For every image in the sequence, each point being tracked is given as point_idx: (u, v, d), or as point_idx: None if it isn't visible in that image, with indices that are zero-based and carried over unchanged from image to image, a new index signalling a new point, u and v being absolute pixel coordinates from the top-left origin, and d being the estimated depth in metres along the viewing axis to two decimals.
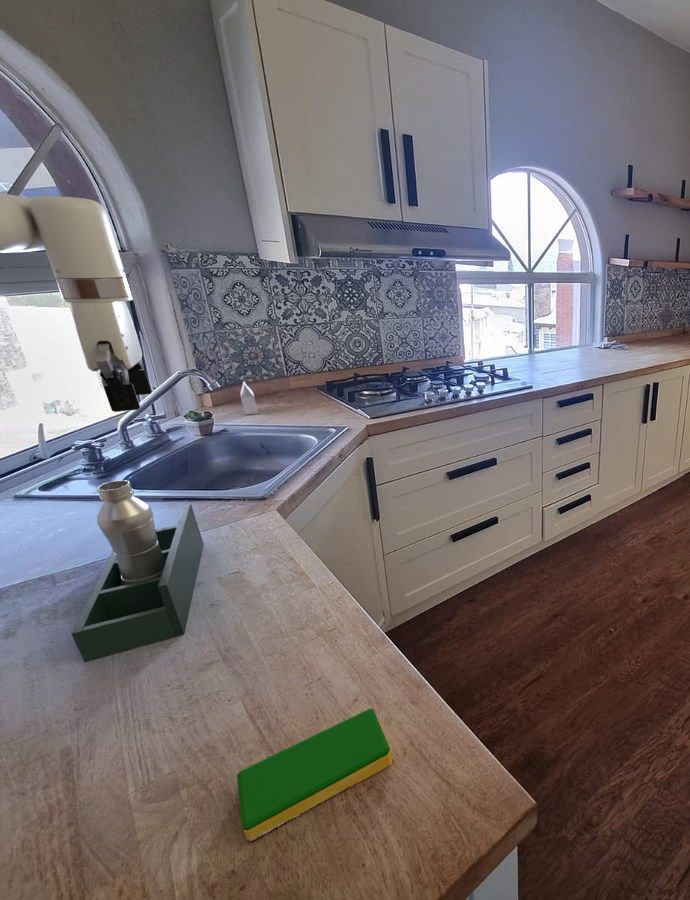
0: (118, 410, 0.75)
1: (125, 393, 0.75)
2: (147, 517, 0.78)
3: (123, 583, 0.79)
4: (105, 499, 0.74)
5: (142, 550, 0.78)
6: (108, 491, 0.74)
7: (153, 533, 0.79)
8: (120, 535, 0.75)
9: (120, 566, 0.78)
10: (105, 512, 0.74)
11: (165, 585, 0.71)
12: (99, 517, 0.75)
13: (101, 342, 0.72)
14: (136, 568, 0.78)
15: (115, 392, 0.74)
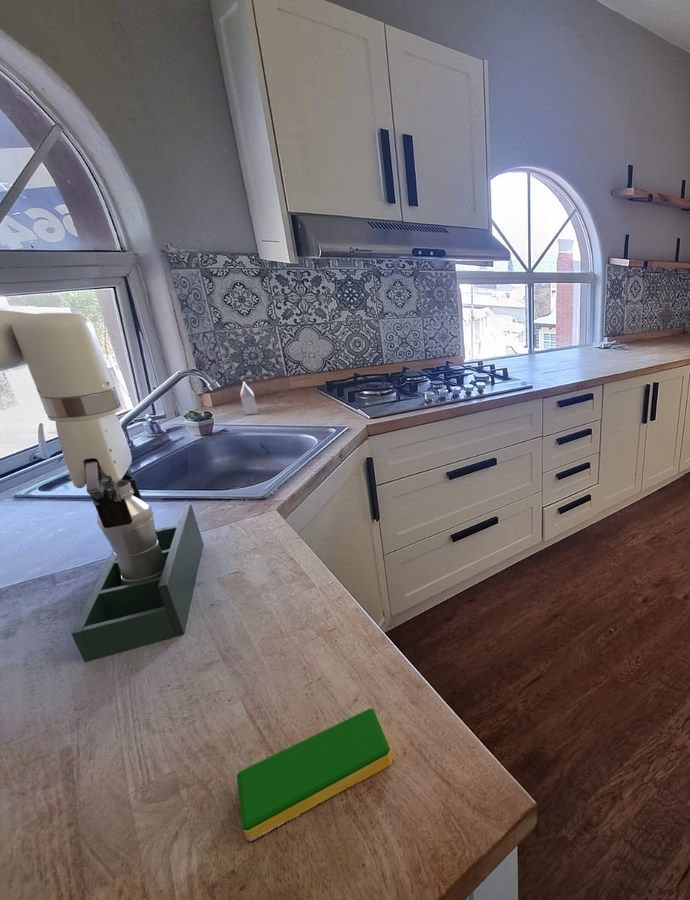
0: (110, 526, 0.74)
1: (117, 510, 0.73)
2: (147, 517, 0.78)
3: (123, 583, 0.79)
4: None
5: (142, 549, 0.78)
6: None
7: (153, 533, 0.79)
8: (120, 535, 0.75)
9: (120, 566, 0.78)
10: None
11: (165, 585, 0.71)
12: (99, 517, 0.75)
13: (89, 462, 0.69)
14: (137, 567, 0.78)
15: (107, 510, 0.72)
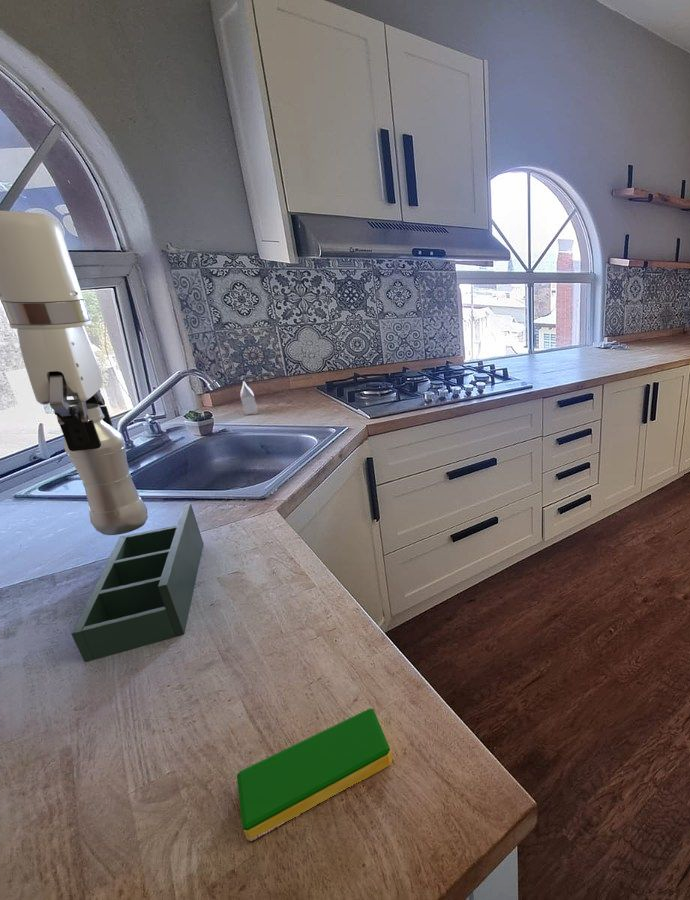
0: (76, 449, 0.69)
1: (84, 431, 0.68)
2: (118, 444, 0.73)
3: (91, 515, 0.74)
4: None
5: (112, 479, 0.73)
6: None
7: (124, 463, 0.75)
8: (88, 461, 0.71)
9: (88, 496, 0.73)
10: None
11: (165, 585, 0.71)
12: (65, 440, 0.70)
13: (53, 375, 0.65)
14: (106, 498, 0.74)
15: (73, 430, 0.68)
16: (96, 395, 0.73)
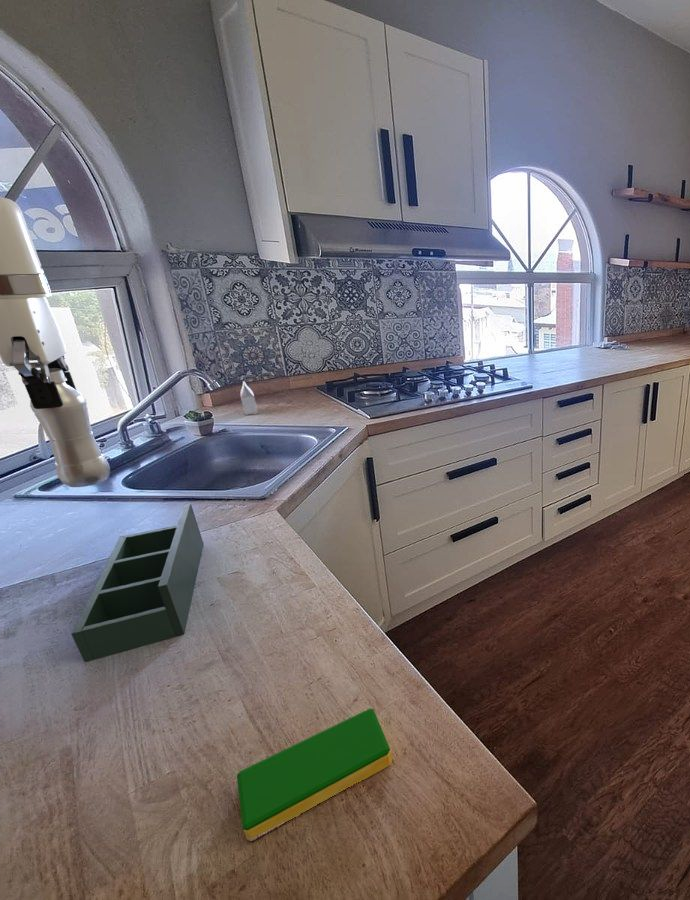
0: (40, 407, 0.78)
1: (46, 391, 0.77)
2: (79, 404, 0.82)
3: (57, 468, 0.83)
4: None
5: (74, 436, 0.82)
6: None
7: (86, 422, 0.84)
8: (52, 418, 0.80)
9: (54, 451, 0.82)
10: None
11: (165, 585, 0.71)
12: None
13: (16, 340, 0.74)
14: (69, 453, 0.82)
15: (36, 390, 0.77)
16: (60, 361, 0.82)
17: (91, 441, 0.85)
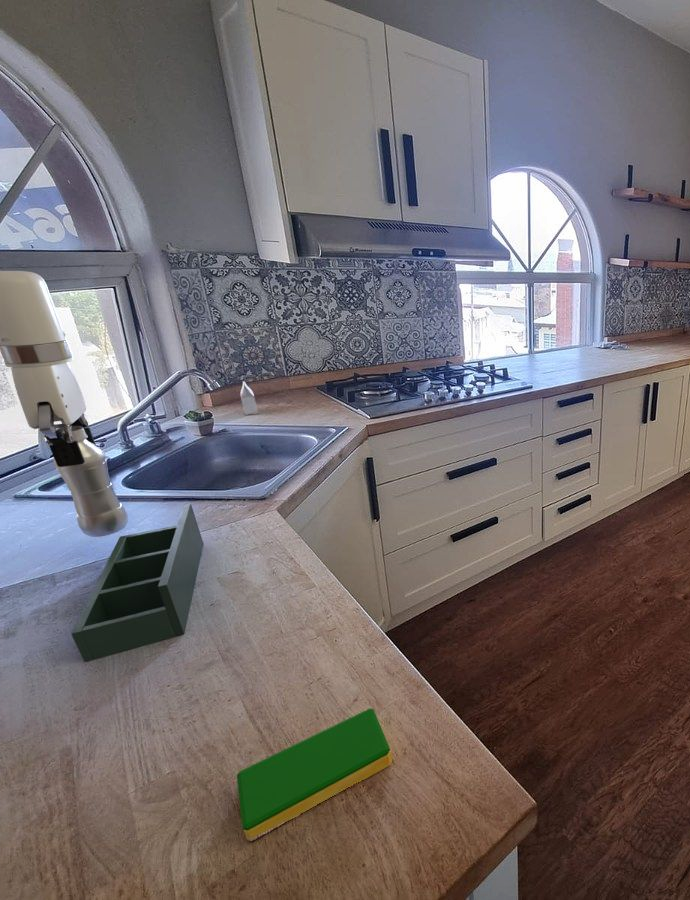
0: (63, 465, 0.82)
1: (69, 450, 0.81)
2: (99, 459, 0.86)
3: (78, 520, 0.87)
4: None
5: (95, 489, 0.87)
6: None
7: (106, 475, 0.88)
8: (74, 474, 0.84)
9: (75, 504, 0.87)
10: None
11: (165, 585, 0.71)
12: None
13: (42, 405, 0.78)
14: (90, 505, 0.87)
15: (60, 449, 0.81)
16: (80, 418, 0.87)
17: (110, 493, 0.89)
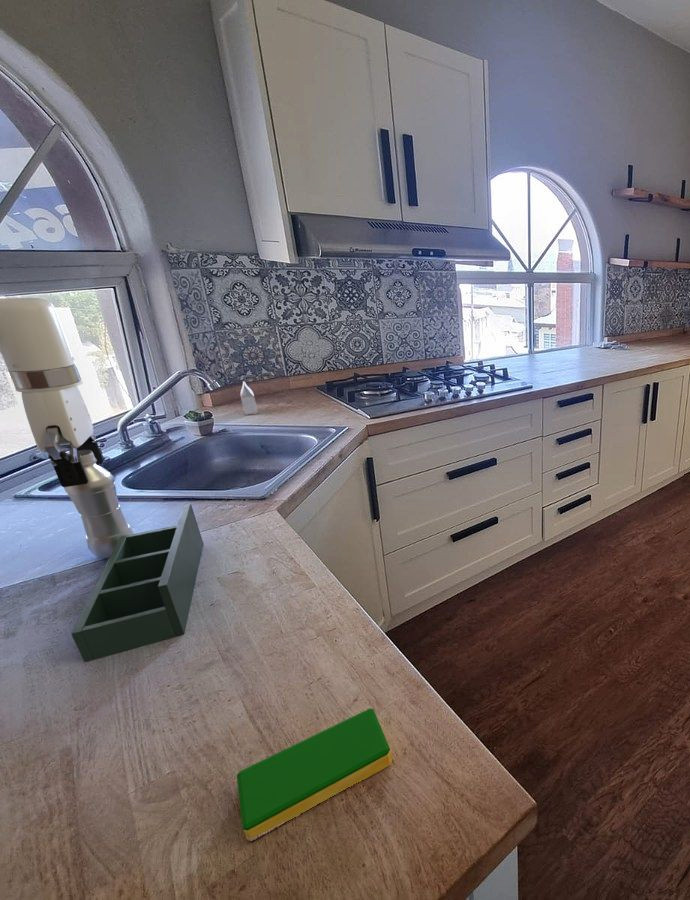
0: (67, 485, 0.82)
1: (74, 471, 0.82)
2: (108, 483, 0.88)
3: (88, 542, 0.89)
4: None
5: (104, 512, 0.88)
6: None
7: (114, 498, 0.90)
8: (84, 498, 0.86)
9: (85, 526, 0.88)
10: None
11: (165, 585, 0.71)
12: None
13: (50, 426, 0.79)
14: (99, 528, 0.88)
15: (64, 470, 0.81)
16: None
17: (119, 515, 0.91)
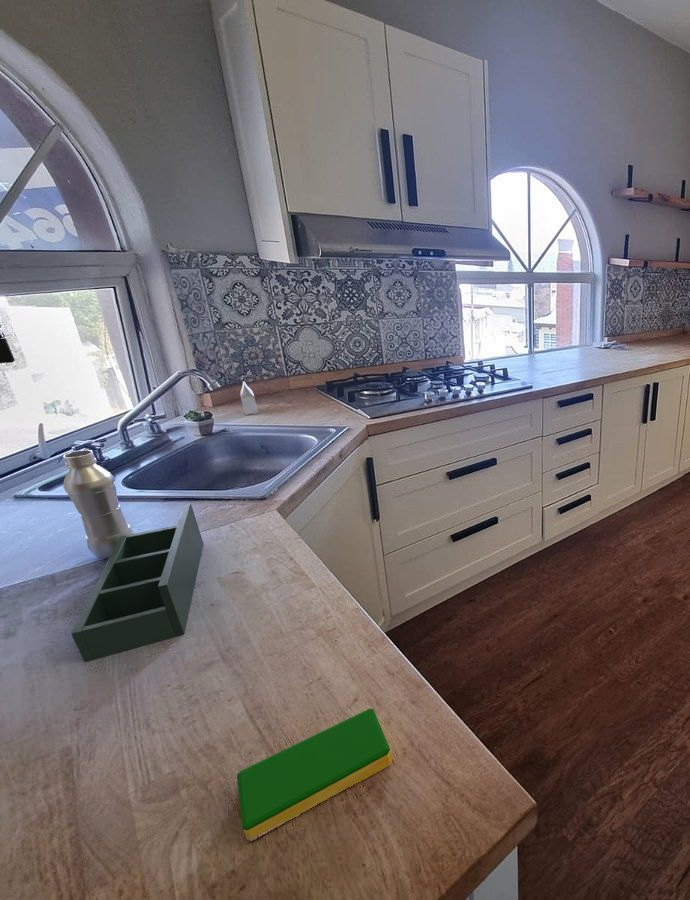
0: None
1: None
2: (108, 483, 0.88)
3: (88, 542, 0.89)
4: (70, 465, 0.84)
5: (104, 512, 0.88)
6: (72, 458, 0.84)
7: (114, 498, 0.90)
8: (84, 498, 0.86)
9: (85, 526, 0.88)
10: (70, 477, 0.85)
11: (165, 585, 0.71)
12: (65, 481, 0.85)
13: None
14: (99, 528, 0.88)
15: None
16: None
17: (119, 515, 0.91)
